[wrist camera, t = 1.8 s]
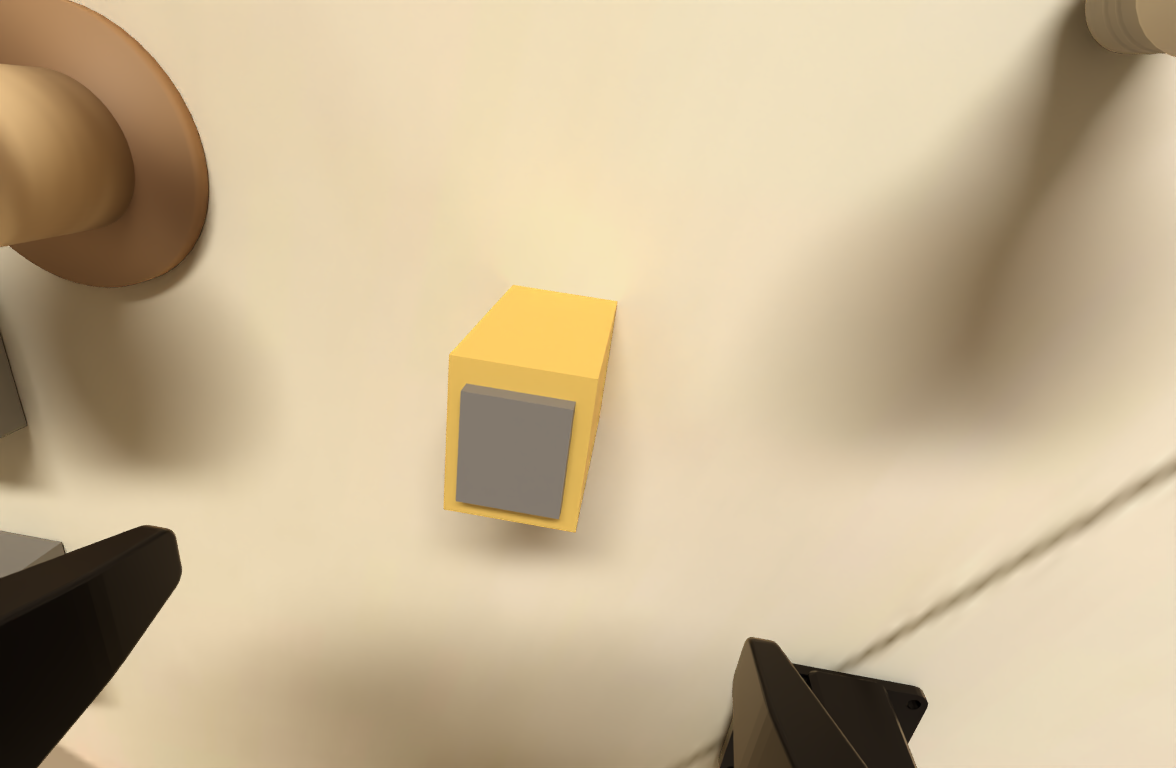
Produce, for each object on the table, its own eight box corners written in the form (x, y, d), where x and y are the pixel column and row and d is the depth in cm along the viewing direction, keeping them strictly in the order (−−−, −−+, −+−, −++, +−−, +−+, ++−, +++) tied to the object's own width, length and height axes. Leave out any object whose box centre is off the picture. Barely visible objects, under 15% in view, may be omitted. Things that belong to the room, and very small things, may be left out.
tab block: (598, 418, 20) (573, 543, 14) (503, 402, 20) (437, 519, 14) (617, 301, 18) (596, 386, 12) (512, 285, 18) (442, 361, 12)
